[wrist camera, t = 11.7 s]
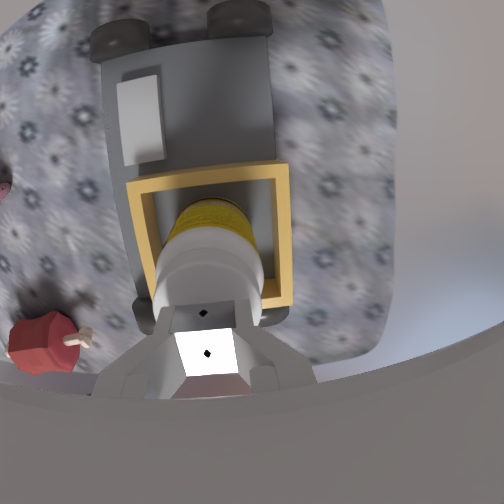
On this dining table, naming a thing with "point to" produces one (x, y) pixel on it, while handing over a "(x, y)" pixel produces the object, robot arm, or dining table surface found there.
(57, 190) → the dining table surface
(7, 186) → the video game controller
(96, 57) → the chassis
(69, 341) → the meat
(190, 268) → the supplement bottle
